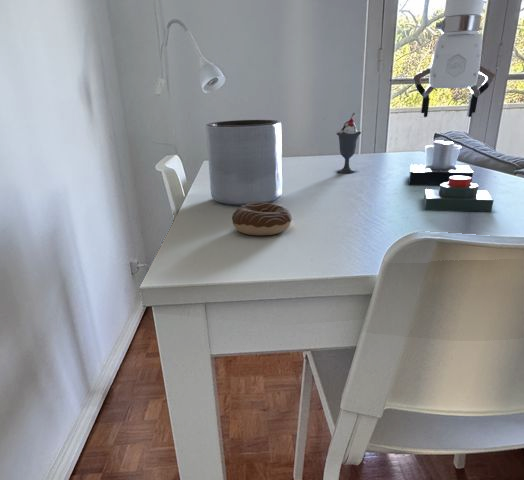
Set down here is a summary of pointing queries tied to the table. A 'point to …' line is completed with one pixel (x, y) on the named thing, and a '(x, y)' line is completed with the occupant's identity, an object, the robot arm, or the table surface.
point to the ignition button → (459, 181)
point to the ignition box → (458, 198)
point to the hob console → (435, 174)
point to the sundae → (348, 143)
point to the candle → (454, 155)
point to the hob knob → (442, 155)
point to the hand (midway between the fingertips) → (446, 116)
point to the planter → (245, 161)
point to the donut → (261, 219)
